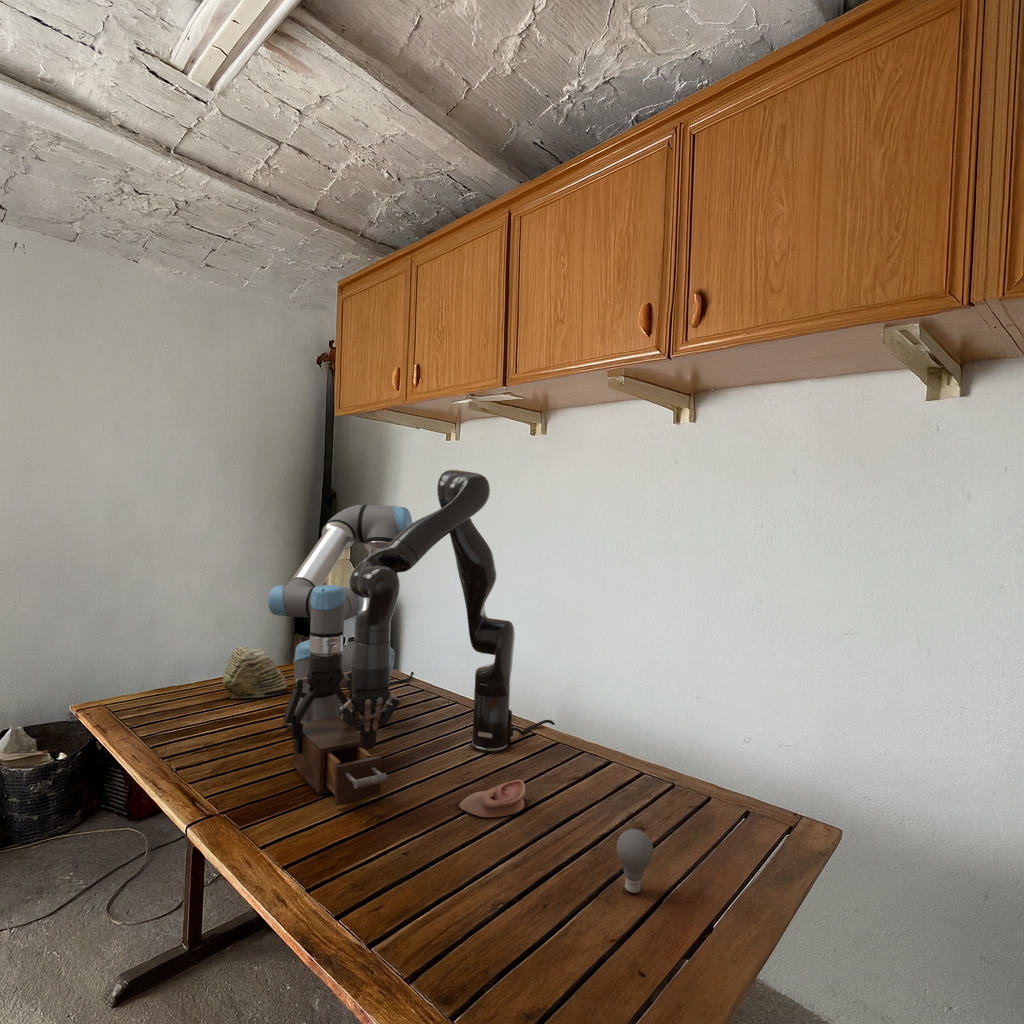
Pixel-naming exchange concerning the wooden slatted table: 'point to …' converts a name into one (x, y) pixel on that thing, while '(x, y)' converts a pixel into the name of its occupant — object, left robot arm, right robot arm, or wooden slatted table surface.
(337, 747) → the cabinet
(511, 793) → the anatomical model
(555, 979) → the wooden slatted table surface
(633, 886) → the light bulb
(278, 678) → the fossil
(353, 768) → the drawer
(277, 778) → the wooden slatted table surface
